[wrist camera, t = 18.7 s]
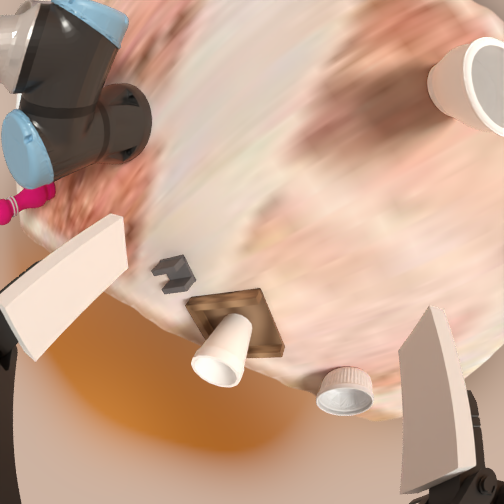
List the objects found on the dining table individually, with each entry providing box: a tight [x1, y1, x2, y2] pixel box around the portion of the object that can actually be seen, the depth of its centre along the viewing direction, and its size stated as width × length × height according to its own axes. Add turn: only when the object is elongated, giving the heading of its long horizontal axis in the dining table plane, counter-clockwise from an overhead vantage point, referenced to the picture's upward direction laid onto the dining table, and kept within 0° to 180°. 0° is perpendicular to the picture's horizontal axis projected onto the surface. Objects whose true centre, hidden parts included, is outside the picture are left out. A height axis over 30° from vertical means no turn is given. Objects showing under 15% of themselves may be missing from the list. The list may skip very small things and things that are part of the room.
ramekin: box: [316, 367, 374, 416], centre depth 55 cm, size 13×13×7 cm
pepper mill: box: [0, 182, 55, 225], centre depth 48 cm, size 7×7×20 cm
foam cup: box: [191, 314, 252, 387], centre depth 52 cm, size 10×9×13 cm
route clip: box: [152, 255, 196, 294], centre depth 54 cm, size 6×6×4 cm
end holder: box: [185, 288, 285, 358], centre depth 57 cm, size 16×16×3 cm
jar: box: [427, 37, 504, 137], centre depth 20 cm, size 11×10×15 cm
